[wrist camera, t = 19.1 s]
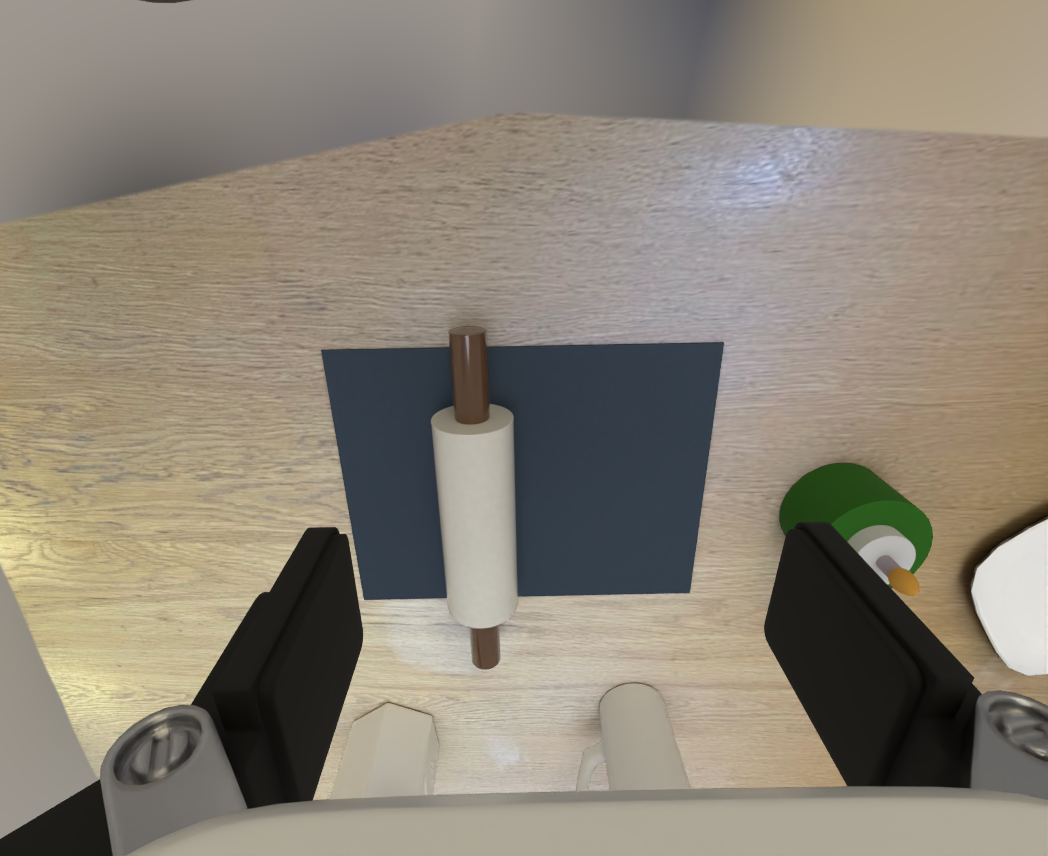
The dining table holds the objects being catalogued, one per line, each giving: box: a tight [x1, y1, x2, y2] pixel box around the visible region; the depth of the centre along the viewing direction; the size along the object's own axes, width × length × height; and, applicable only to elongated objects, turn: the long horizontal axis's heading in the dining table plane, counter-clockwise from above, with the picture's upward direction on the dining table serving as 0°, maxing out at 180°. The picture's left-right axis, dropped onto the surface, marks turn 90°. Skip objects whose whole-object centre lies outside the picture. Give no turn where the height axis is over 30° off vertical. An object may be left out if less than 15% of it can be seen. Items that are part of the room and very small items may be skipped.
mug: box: [576, 683, 691, 791], centre depth 47 cm, size 10×7×12 cm, turn 119°
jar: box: [329, 703, 439, 799], centre depth 48 cm, size 9×8×12 cm
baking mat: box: [321, 342, 724, 600], centre depth 42 cm, size 28×22×1 cm
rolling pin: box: [431, 326, 518, 669], centre depth 40 cm, size 28×6×6 cm
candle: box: [780, 463, 933, 596], centre depth 39 cm, size 8×8×10 cm
